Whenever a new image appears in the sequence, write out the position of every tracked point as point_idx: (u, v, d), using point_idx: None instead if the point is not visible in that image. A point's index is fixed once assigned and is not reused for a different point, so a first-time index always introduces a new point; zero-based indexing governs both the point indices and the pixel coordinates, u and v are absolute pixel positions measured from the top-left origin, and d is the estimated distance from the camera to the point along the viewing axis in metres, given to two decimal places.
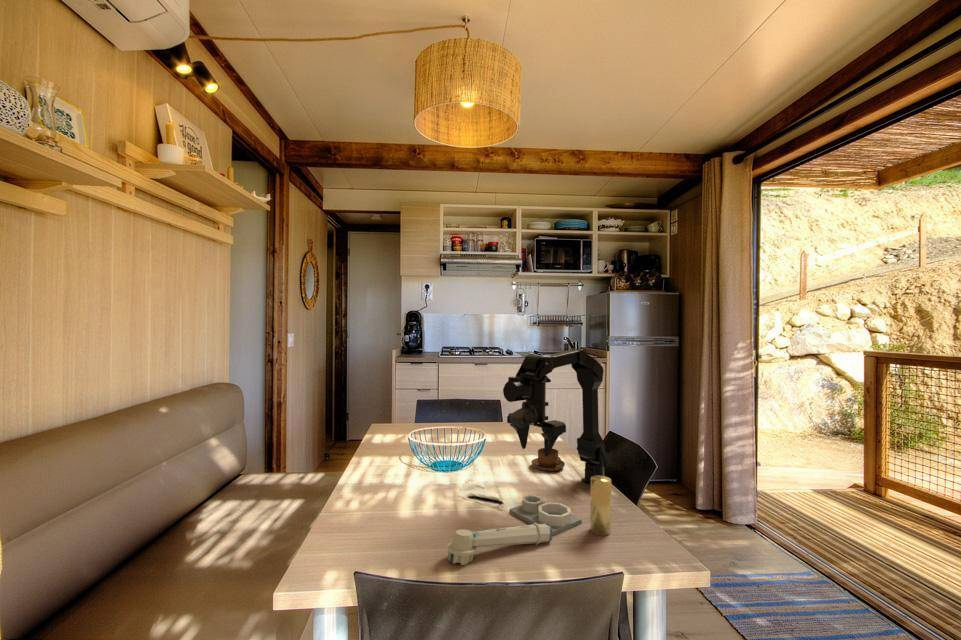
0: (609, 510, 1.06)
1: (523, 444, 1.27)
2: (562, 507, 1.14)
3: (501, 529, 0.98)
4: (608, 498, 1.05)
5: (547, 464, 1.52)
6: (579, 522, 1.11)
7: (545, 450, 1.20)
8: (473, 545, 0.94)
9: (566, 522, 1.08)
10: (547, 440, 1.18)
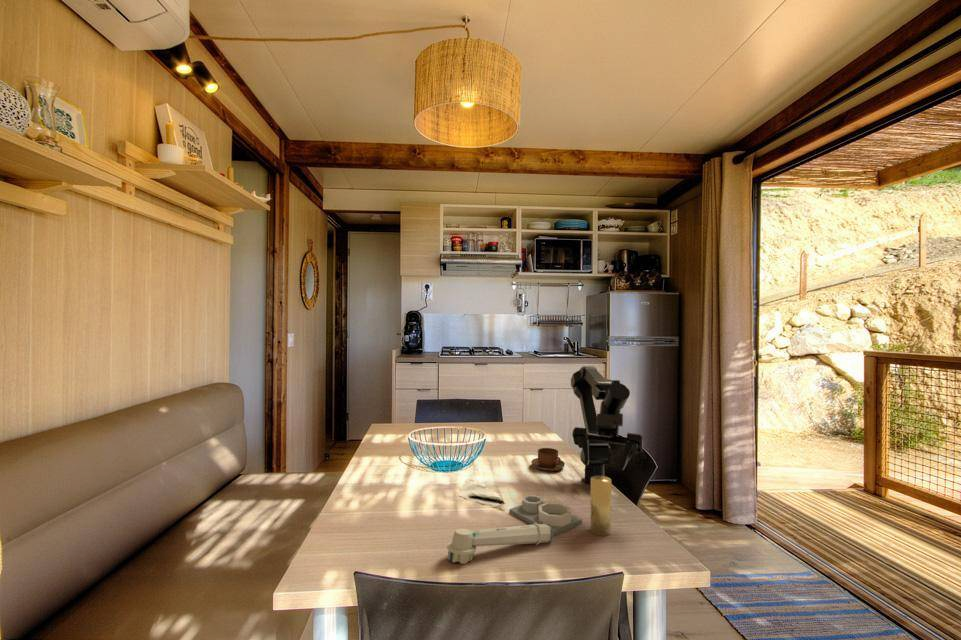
0: (609, 510, 1.06)
1: (588, 460, 1.17)
2: (562, 507, 1.14)
3: (501, 529, 0.98)
4: (608, 498, 1.05)
5: (547, 464, 1.52)
6: (579, 522, 1.11)
7: (623, 461, 1.14)
8: (473, 544, 0.94)
9: (566, 522, 1.08)
10: (629, 450, 1.15)
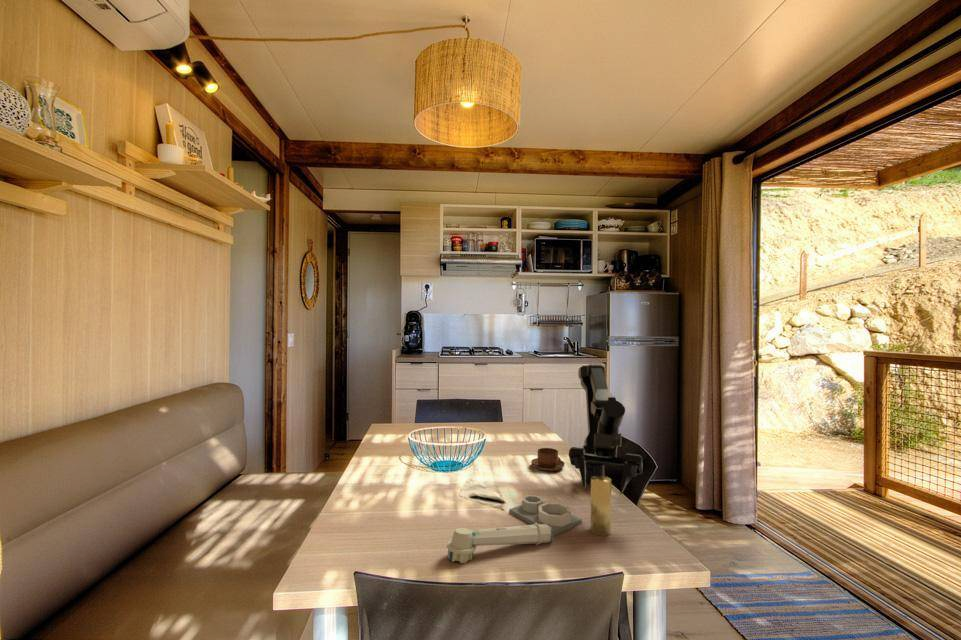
0: (609, 510, 1.06)
1: (585, 482, 1.12)
2: (562, 507, 1.14)
3: (501, 528, 0.98)
4: (608, 498, 1.05)
5: (547, 464, 1.52)
6: (579, 522, 1.11)
7: (622, 484, 1.08)
8: (472, 544, 0.94)
9: (566, 522, 1.08)
10: (628, 472, 1.10)
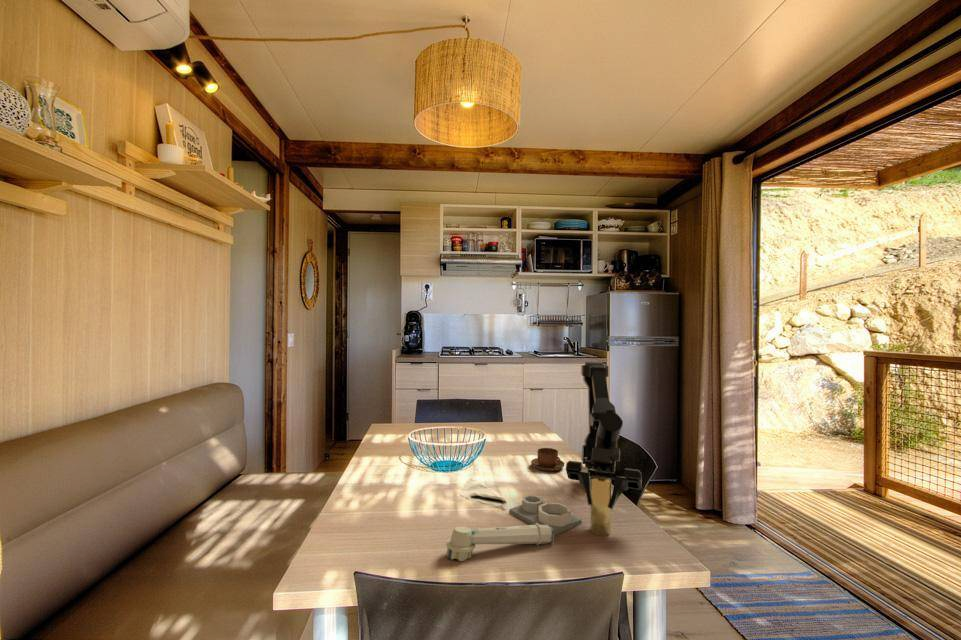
0: (609, 510, 1.06)
1: (590, 499, 1.08)
2: (562, 507, 1.14)
3: (501, 528, 0.99)
4: (608, 498, 1.05)
5: (547, 464, 1.52)
6: (579, 522, 1.11)
7: (613, 499, 1.06)
8: (471, 542, 0.95)
9: (566, 522, 1.08)
10: (618, 487, 1.07)
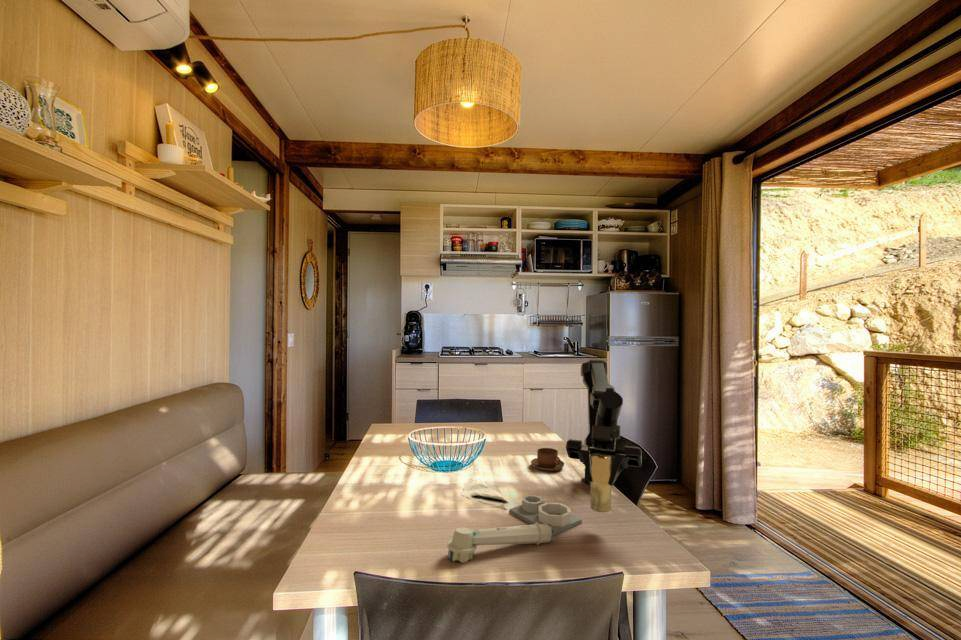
0: (609, 487, 1.06)
1: (590, 476, 1.08)
2: (562, 507, 1.14)
3: (502, 528, 0.98)
4: (608, 475, 1.05)
5: (546, 464, 1.52)
6: (579, 522, 1.11)
7: (613, 476, 1.06)
8: (473, 543, 0.94)
9: (566, 522, 1.08)
10: (619, 464, 1.07)
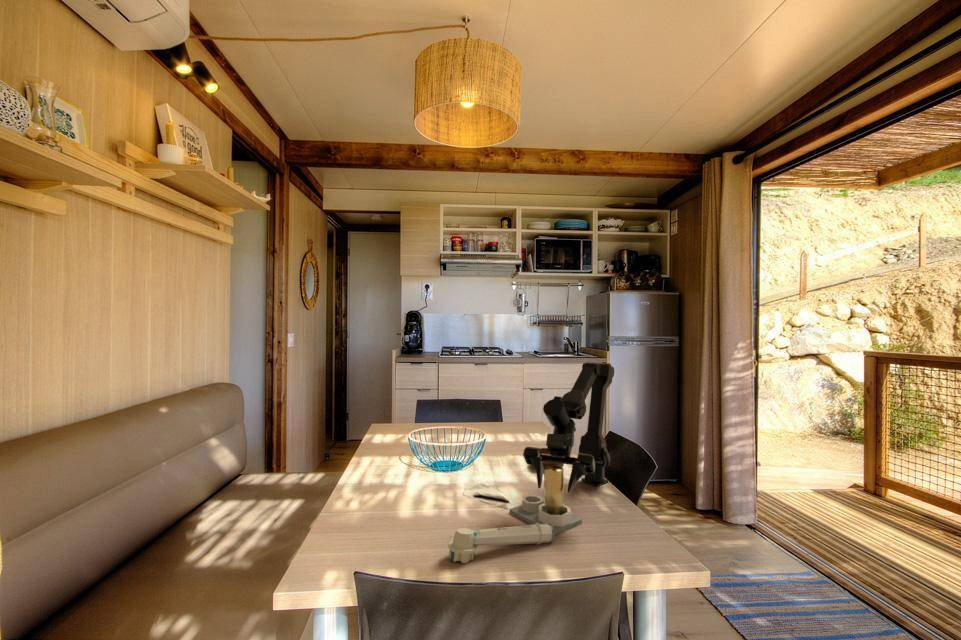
0: (561, 498, 1.10)
1: (540, 482, 1.13)
2: None
3: (502, 528, 0.98)
4: (560, 487, 1.10)
5: (546, 464, 1.52)
6: (579, 522, 1.11)
7: (570, 483, 1.10)
8: (474, 544, 0.94)
9: (566, 522, 1.08)
10: (576, 472, 1.11)
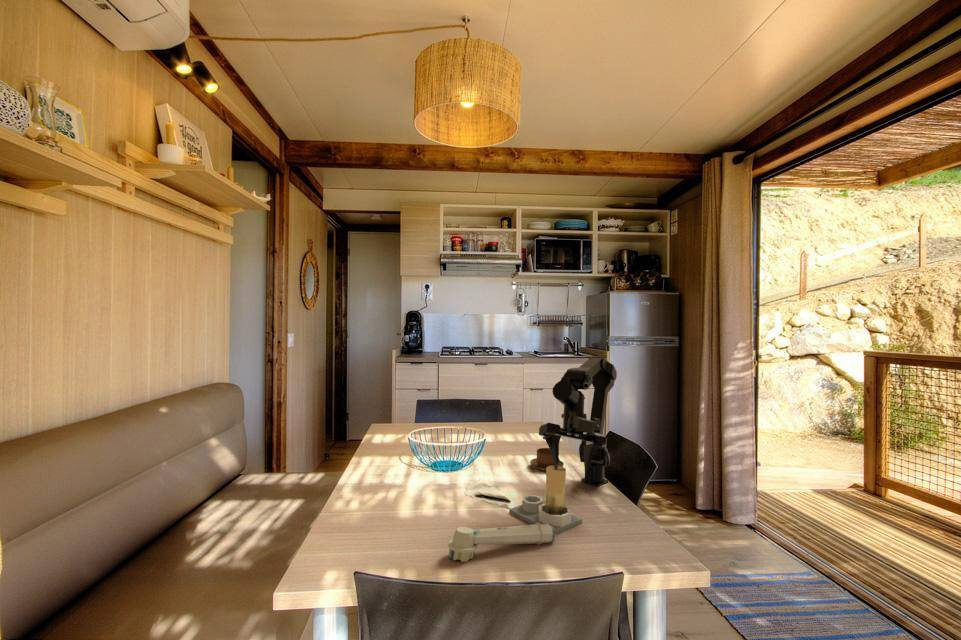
0: (562, 498, 1.10)
1: None
2: None
3: (503, 528, 0.99)
4: (561, 487, 1.10)
5: (546, 464, 1.52)
6: (579, 522, 1.11)
7: (589, 462, 1.19)
8: (474, 543, 0.95)
9: (566, 522, 1.08)
10: (594, 451, 1.20)
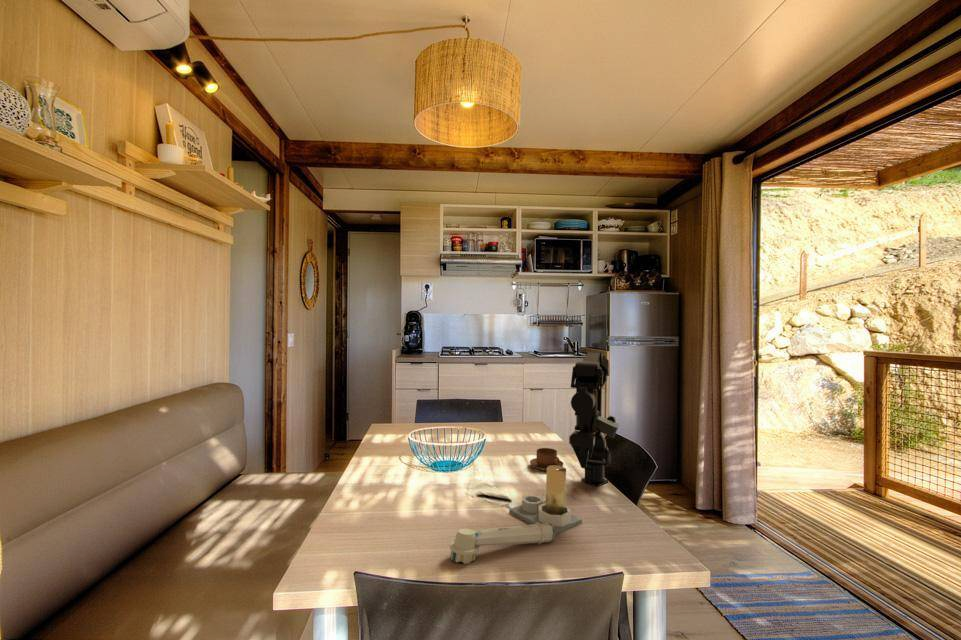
0: (562, 498, 1.10)
1: None
2: None
3: (504, 528, 0.98)
4: (562, 487, 1.10)
5: (546, 464, 1.52)
6: (579, 522, 1.11)
7: (592, 452, 1.24)
8: (475, 544, 0.94)
9: (566, 522, 1.08)
10: None
